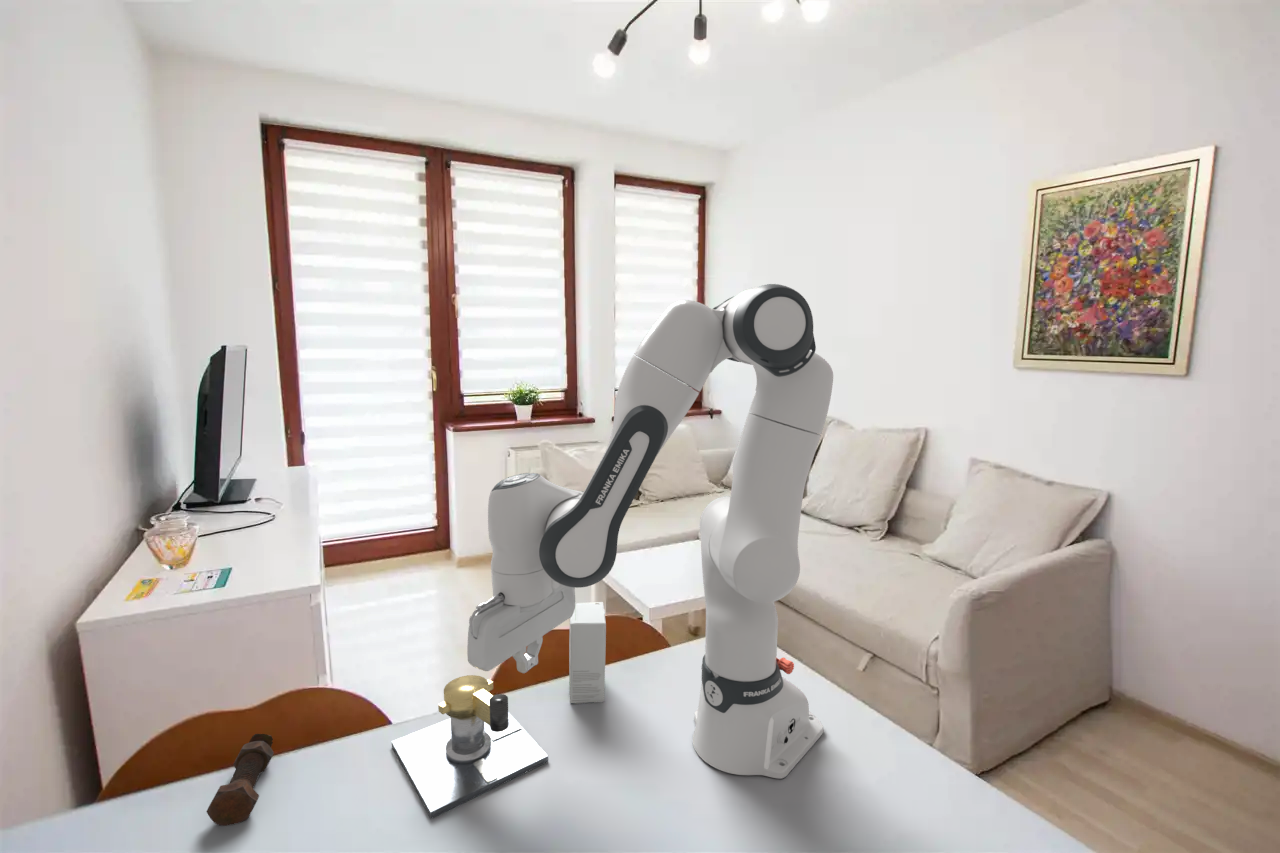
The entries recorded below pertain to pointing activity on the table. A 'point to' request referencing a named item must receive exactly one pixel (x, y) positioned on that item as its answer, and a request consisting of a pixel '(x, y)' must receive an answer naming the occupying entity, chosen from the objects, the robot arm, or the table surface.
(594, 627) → the skincare box
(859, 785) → the table surface
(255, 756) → the bolt
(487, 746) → the slotted metal plate
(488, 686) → the brass faucet handle
